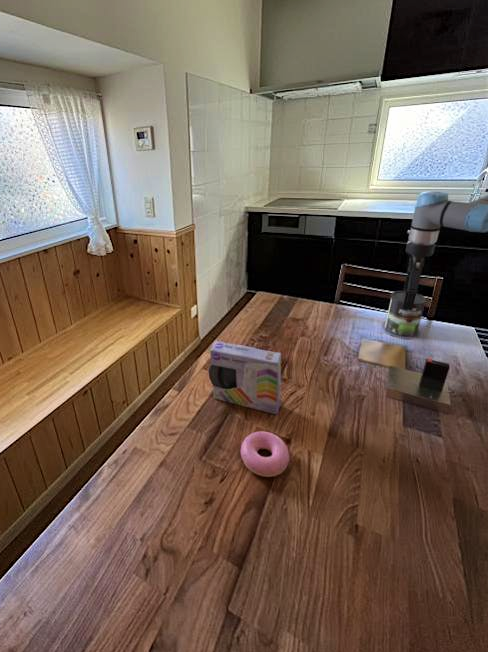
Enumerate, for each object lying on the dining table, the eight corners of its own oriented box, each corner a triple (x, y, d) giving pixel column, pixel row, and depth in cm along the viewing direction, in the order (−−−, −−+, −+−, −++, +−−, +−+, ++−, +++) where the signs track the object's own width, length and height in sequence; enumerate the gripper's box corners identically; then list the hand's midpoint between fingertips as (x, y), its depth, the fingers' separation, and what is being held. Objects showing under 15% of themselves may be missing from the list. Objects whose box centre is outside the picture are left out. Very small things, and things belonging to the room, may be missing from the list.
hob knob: (441, 387, 91) (449, 362, 87) (442, 391, 89) (450, 366, 86) (419, 382, 93) (426, 357, 90) (419, 385, 92) (426, 361, 88)
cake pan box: (209, 398, 96) (206, 347, 89) (215, 387, 100) (213, 337, 93) (276, 417, 89) (280, 363, 81) (280, 404, 93) (284, 351, 85)
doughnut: (290, 445, 80) (291, 432, 79) (286, 487, 71) (288, 474, 69) (245, 434, 84) (245, 422, 82) (236, 473, 75) (235, 460, 73)
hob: (446, 388, 95) (449, 379, 93) (450, 414, 86) (453, 405, 85) (387, 373, 102) (389, 365, 100) (385, 396, 93) (387, 387, 92)
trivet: (404, 349, 112) (405, 347, 111) (404, 371, 102) (405, 369, 101) (361, 340, 118) (362, 338, 118) (357, 360, 108) (357, 358, 108)
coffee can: (421, 340, 116) (431, 304, 110) (388, 338, 118) (396, 302, 112) (411, 325, 125) (419, 291, 119) (380, 323, 127) (387, 289, 121)
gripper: (407, 230, 119) (395, 285, 128) (407, 252, 100) (393, 314, 109) (433, 232, 115) (418, 288, 124) (438, 255, 96) (421, 319, 105)
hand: (406, 300), depth 116 cm, fingers open, 13 cm apart
